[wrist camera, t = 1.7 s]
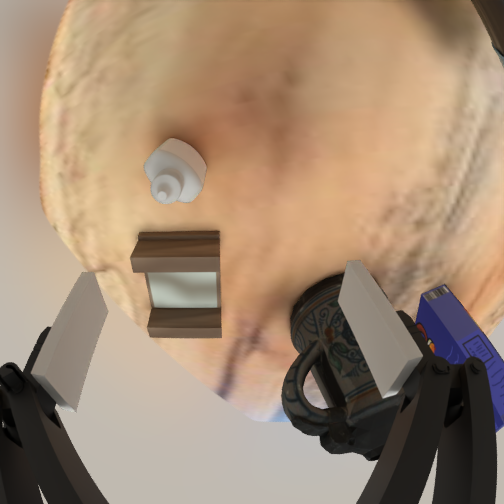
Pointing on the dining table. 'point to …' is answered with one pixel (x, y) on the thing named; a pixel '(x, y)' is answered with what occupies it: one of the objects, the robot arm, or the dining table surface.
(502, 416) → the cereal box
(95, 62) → the dining table surface
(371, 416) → the beer stein
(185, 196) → the eye dropper bottle
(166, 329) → the u rest
